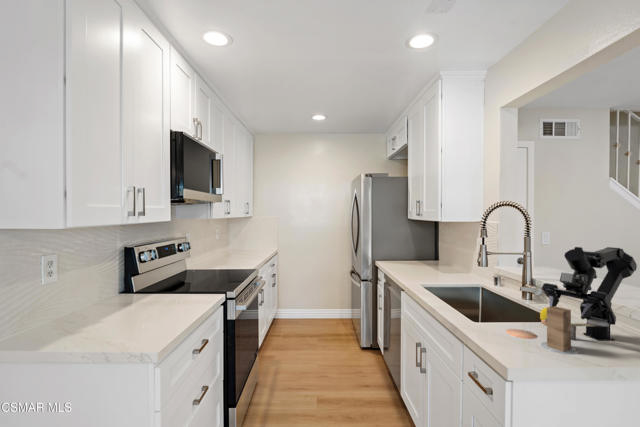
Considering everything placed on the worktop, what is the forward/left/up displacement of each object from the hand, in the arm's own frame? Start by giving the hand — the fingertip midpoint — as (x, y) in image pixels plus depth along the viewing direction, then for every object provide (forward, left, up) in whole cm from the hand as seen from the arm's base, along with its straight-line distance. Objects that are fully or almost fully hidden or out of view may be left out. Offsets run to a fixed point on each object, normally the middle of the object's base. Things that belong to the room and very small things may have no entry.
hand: (565, 314), depth 107 cm
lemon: (-11, -22, -12) cm, 27 cm away
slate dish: (+4, +2, -12) cm, 12 cm away
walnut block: (+4, +2, -10) cm, 11 cm away
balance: (-7, -5, -12) cm, 15 cm away
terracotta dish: (+8, -11, -12) cm, 18 cm away
